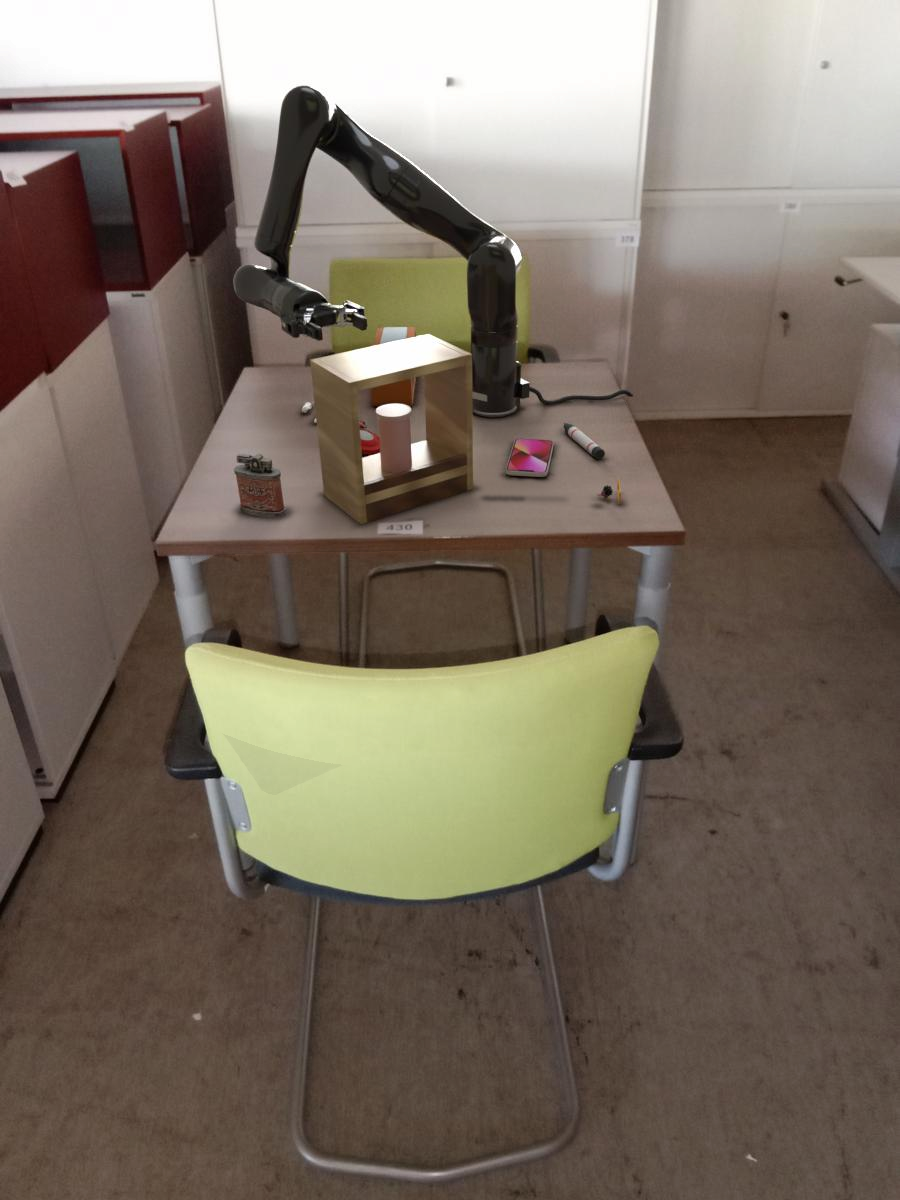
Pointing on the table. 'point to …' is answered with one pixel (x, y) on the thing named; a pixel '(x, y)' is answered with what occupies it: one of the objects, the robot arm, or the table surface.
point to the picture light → (307, 408)
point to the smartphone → (530, 457)
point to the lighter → (259, 486)
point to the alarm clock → (402, 389)
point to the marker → (584, 441)
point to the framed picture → (610, 491)
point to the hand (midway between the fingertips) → (343, 329)
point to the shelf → (435, 461)
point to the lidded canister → (394, 437)
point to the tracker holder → (368, 440)
